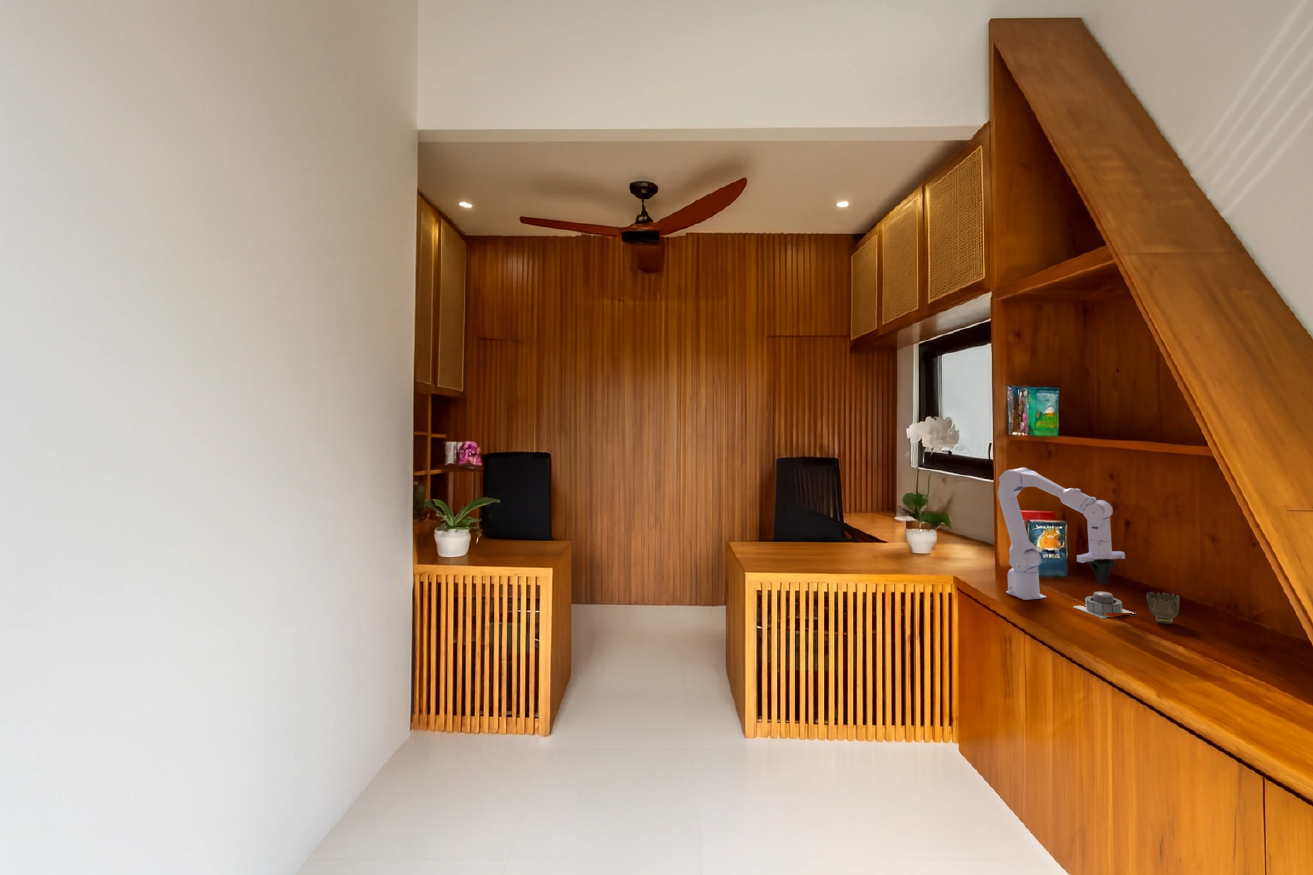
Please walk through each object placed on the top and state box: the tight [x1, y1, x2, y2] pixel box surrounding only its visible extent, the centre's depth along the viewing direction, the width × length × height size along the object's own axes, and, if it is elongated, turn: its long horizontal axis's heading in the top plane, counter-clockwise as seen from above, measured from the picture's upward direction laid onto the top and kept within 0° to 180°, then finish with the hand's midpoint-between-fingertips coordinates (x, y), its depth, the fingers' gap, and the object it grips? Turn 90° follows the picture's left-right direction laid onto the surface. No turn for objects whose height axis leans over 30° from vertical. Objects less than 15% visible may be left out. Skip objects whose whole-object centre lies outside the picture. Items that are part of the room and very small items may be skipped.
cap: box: [1092, 591, 1114, 604], centre depth 182 cm, size 5×5×5 cm
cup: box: [1145, 591, 1181, 625], centre depth 170 cm, size 8×7×8 cm
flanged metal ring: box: [1073, 595, 1137, 619], centre depth 182 cm, size 11×11×3 cm
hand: (1102, 583), depth 182 cm, fingers closed
